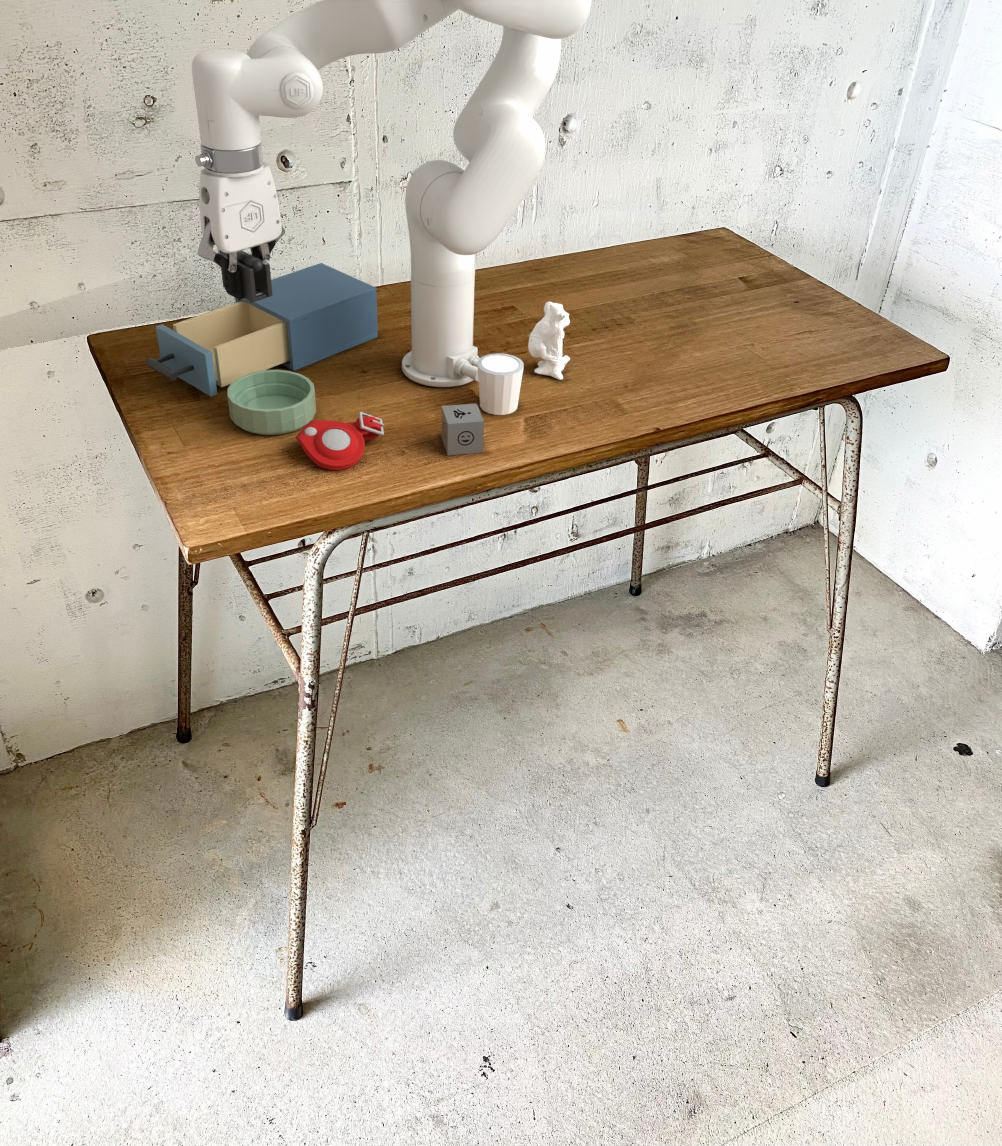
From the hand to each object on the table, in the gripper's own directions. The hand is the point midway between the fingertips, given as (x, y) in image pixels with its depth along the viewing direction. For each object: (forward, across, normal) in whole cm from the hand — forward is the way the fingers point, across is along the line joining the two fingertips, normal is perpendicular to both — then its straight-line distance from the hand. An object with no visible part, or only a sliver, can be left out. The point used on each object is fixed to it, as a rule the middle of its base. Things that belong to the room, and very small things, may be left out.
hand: (247, 290), depth 152 cm
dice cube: (+17, +13, -29) cm, 37 cm away
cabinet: (+17, +18, +11) cm, 27 cm away
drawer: (+16, +1, +10) cm, 19 cm away
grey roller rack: (0, 0, 0) cm, 0 cm away
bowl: (+17, -1, -5) cm, 18 cm away
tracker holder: (+17, 0, -20) cm, 26 cm away
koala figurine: (+17, +39, -23) cm, 48 cm away
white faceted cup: (+17, +25, -25) cm, 39 cm away
